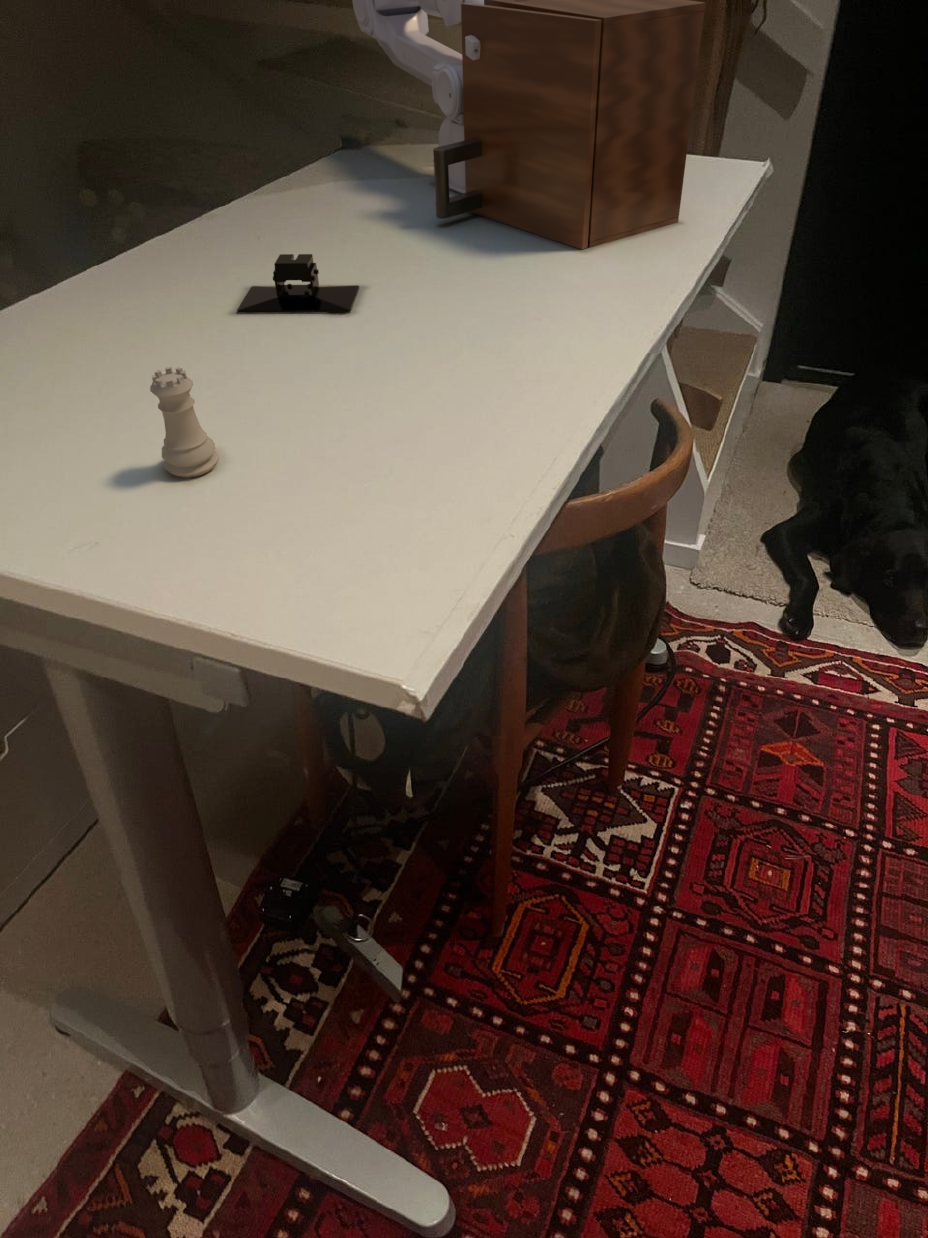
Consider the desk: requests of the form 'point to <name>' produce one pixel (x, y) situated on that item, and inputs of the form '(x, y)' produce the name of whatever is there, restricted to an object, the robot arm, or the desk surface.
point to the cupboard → (637, 108)
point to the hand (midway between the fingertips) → (557, 58)
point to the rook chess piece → (182, 426)
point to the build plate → (298, 291)
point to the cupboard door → (526, 122)
